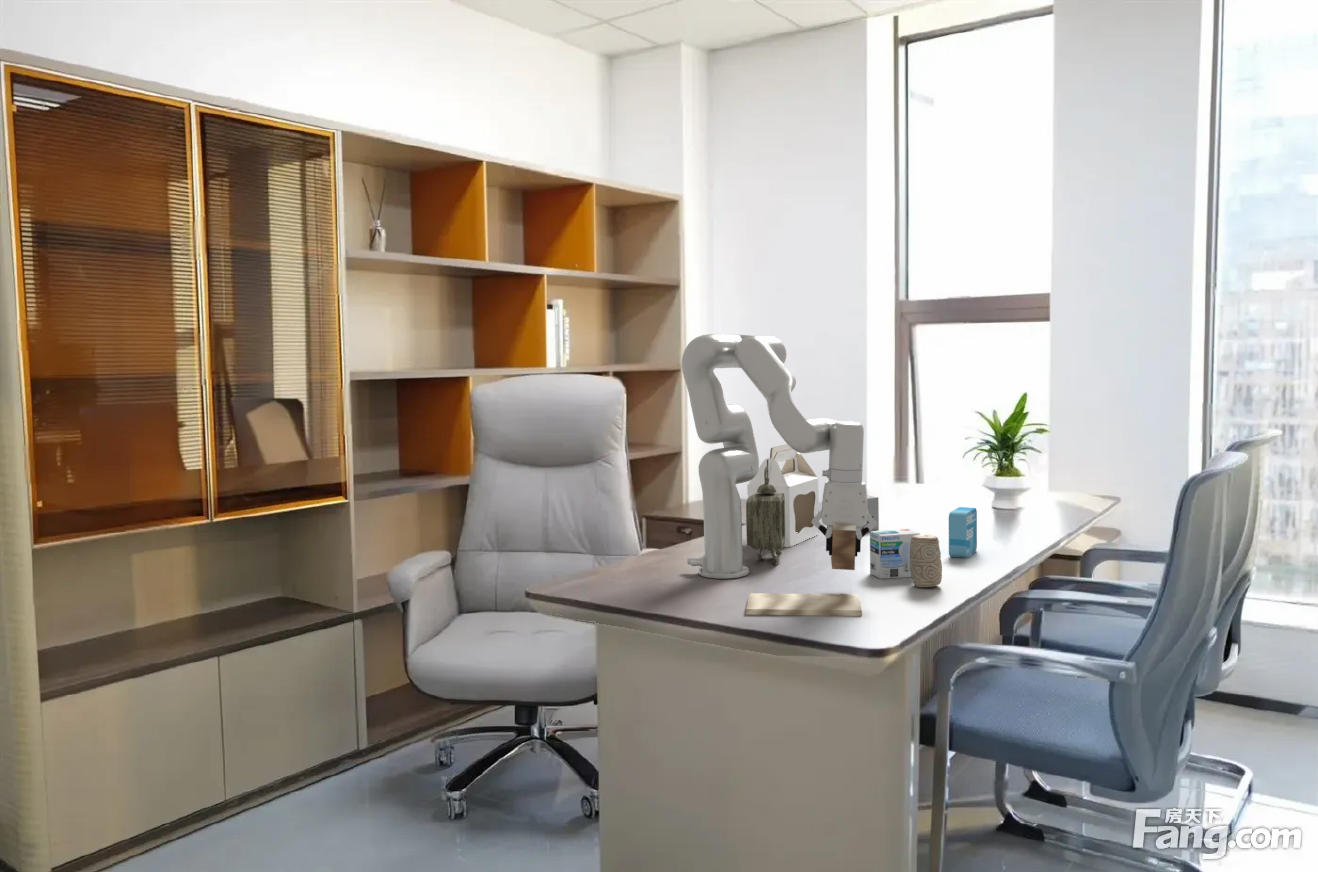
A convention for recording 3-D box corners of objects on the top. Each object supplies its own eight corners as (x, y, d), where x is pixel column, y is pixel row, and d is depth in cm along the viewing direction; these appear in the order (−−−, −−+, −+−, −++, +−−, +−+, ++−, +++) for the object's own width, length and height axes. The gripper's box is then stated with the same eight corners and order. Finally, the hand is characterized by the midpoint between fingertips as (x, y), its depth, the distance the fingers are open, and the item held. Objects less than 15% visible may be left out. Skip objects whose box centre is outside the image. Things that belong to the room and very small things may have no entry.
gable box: (789, 548, 280) (788, 449, 278) (747, 544, 287) (745, 448, 285) (819, 534, 299) (818, 442, 297) (779, 531, 306) (777, 441, 304)
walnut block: (831, 569, 223) (833, 525, 222) (831, 559, 232) (832, 517, 231) (854, 570, 222) (856, 526, 221) (852, 560, 231) (854, 518, 230)
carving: (916, 582, 235) (916, 532, 234) (947, 585, 230) (946, 534, 229) (904, 587, 230) (904, 536, 229) (935, 591, 225) (935, 539, 224)
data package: (965, 559, 259) (965, 513, 258) (948, 557, 261) (948, 512, 260) (977, 550, 269) (977, 507, 268) (960, 549, 271) (960, 506, 270)
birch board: (746, 614, 209) (746, 609, 209) (749, 598, 223) (749, 593, 223) (861, 616, 206) (861, 610, 205) (858, 599, 219) (858, 594, 219)
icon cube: (832, 528, 310) (832, 496, 309) (858, 525, 314) (858, 493, 313) (852, 532, 301) (851, 500, 300) (878, 529, 305) (878, 497, 304)
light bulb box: (880, 579, 238) (879, 535, 237) (868, 573, 245) (868, 530, 244) (921, 576, 240) (921, 532, 239) (909, 570, 247) (908, 528, 246)
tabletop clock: (781, 566, 256) (779, 470, 254) (746, 565, 258) (744, 470, 256) (785, 555, 270) (784, 464, 268) (752, 554, 272) (750, 464, 270)
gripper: (807, 477, 222) (805, 556, 224) (885, 479, 220) (882, 560, 222) (807, 472, 230) (805, 549, 232) (882, 474, 227) (879, 552, 229)
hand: (842, 553), depth 227 cm, fingers closed on walnut block, 5 cm apart
